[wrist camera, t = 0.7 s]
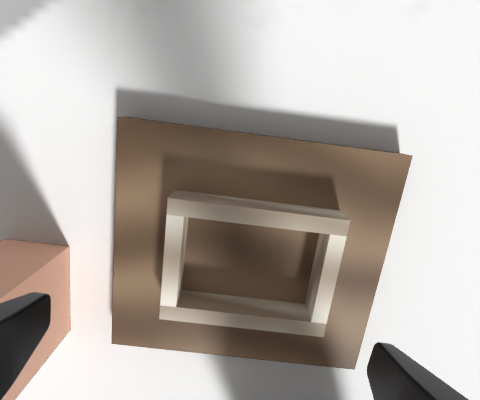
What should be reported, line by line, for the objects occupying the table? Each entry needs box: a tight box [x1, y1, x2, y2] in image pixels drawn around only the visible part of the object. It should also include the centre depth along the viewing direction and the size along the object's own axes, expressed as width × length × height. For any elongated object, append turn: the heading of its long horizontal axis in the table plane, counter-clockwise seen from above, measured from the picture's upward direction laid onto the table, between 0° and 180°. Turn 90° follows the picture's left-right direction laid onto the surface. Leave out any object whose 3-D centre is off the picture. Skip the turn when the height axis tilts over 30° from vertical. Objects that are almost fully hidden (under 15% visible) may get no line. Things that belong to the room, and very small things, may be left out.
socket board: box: [112, 117, 412, 369], centre depth 20 cm, size 16×18×4 cm
